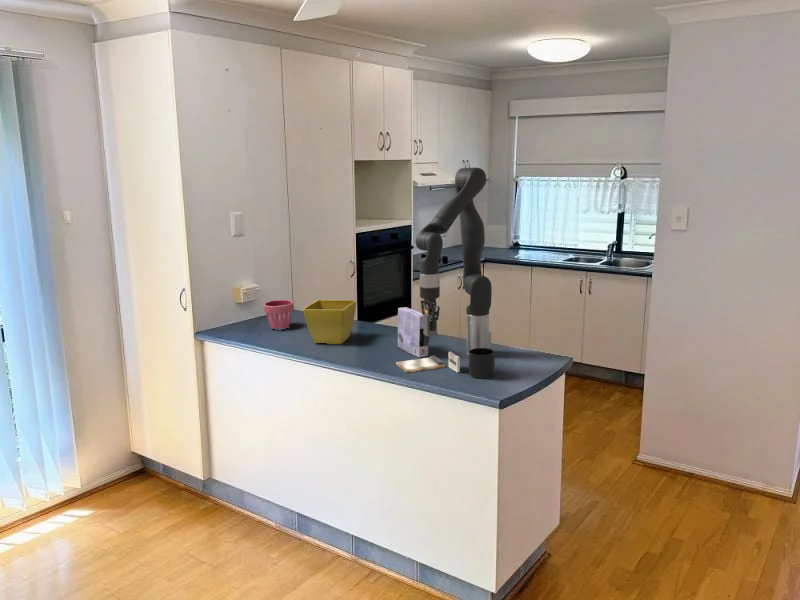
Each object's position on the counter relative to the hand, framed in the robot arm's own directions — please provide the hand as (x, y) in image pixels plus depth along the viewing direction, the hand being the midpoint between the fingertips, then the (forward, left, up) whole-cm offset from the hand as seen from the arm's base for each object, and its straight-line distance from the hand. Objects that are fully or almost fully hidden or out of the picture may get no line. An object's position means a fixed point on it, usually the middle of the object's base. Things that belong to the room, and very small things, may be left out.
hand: (430, 328), depth 249 cm
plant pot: (+44, -88, -16) cm, 100 cm away
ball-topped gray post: (0, 0, -2) cm, 2 cm away
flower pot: (+26, -55, -16) cm, 63 cm away
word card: (-7, +6, -16) cm, 18 cm away
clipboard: (+3, -4, -16) cm, 16 cm away
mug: (-15, +15, -16) cm, 26 cm away
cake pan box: (-1, -22, -16) cm, 27 cm away
